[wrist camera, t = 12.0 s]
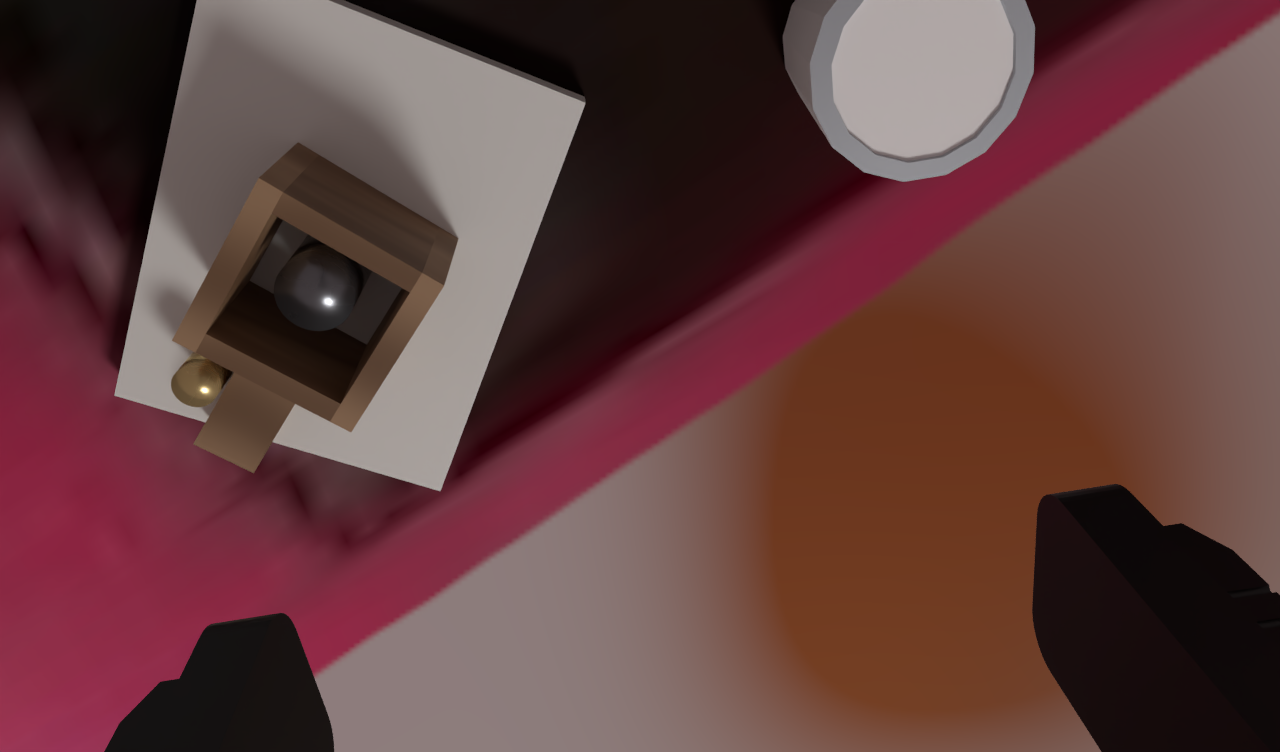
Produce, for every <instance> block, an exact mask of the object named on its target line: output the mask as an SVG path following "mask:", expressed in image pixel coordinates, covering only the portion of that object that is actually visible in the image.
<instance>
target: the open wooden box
mask: <svg viewBox="0 0 1280 752" xmlns="http://www.w3.org/2000/svg"><path fill="white" fill-rule="evenodd" d="M283 220H284V221H286V222H287V223H289V224H291V225H293V226H294V227H296V228H298V229H300V230H301V231H303V232H305V233H307V234H308V235H310V236H312V237H314V238H315V239H317V240H319V241H321V242H322V243H324V244H326V245H328V246H329V247H331V248H333V249H335V250H336V251H338V252H340V253H342V254H343V255H345V256H347V257H349V258H350V259H352V260H354V261H356V262H357V263H359V264H361V265H363V266H364V267H366V268H368V269H370V270H371V271H373V272H375V273H377V274H378V275H380V276H382V277H384V278H385V279H387V280H389V281H391V282H392V283H394V284H396V285H398V286H399V287H401V288H402V289H401V290H400V292H399V293H398V295H397V297H396V298H395V300H394V302H393V303H392V305H391V306H390V308H389V310H388V311H387V313H386V315H385V316H384V318H383V319H382V321H381V323H380V324H379V326H378V327H377V329H376V331H375V332H374V334H373V336H372V337H371V339H370V340H369V342H368V344H365V343H363V342H361V341H359V340H357V339H356V338H354V337H352V336H350V335H348V334H346V333H345V332H343V331H341V330H339V329H337V328H333V329H330V330H325V331H312V330H307V329H304V328H301V327H299V326H297V325H295V324H293V323H292V322H290V321H289V320H288V319H287V318H286V317H285V316H284V315H283V314H282V312H281V311H280V310H279V308H278V306H277V304H276V301H275V297H274V294H273V293H271V292H269V291H268V290H266V289H264V288H262V287H260V286H258V285H257V284H255V283H253V282H251V281H250V279H251V277H252V275H253V274H254V272H255V270H256V268H257V266H258V265H259V263H260V261H261V259H262V257H263V255H264V254H265V252H266V250H267V248H268V246H269V245H270V243H271V241H272V239H273V237H274V236H275V234H276V232H277V230H278V228H279V226H280V225H281V223H282V221H283ZM458 239H459V238H457V237H455V236H454V235H452V234H450V233H449V232H447V231H445V230H444V229H442V228H440V227H439V226H437V225H435V224H434V223H432V222H430V221H429V220H427V219H425V218H424V217H422V216H420V215H419V214H417V213H415V212H414V211H412V210H410V209H409V208H407V207H405V206H404V205H402V204H400V203H399V202H397V201H395V200H394V199H392V198H390V197H389V196H387V195H385V194H384V193H382V192H380V191H379V190H377V189H375V188H374V187H372V186H370V185H369V184H367V183H365V182H364V181H362V180H360V179H359V178H357V177H355V176H354V175H352V174H350V173H349V172H347V171H345V170H344V169H342V168H340V167H339V166H337V165H335V164H334V163H332V162H330V161H329V160H327V159H325V158H324V157H322V156H320V155H319V154H317V153H315V152H314V151H312V150H310V149H309V148H307V147H305V146H304V145H302V144H300V143H299V142H298V143H297V144H295V145H294V146H293V147H292V148H291V149H290V150H289V151H288V152H287V153H286V154H284V155H283V156H282V157H281V158H280V159H279V160H278V161H277V162H276V163H274V164H273V165H272V166H271V167H270V168H269V169H268V170H267V171H266V172H265V173H263V174H262V175H261V176H260V177H259V178H258V180H257V182H256V184H255V185H254V187H253V189H252V191H251V193H250V195H249V197H248V199H247V200H246V202H245V204H244V206H243V208H242V210H241V212H240V214H239V215H238V217H237V219H236V221H235V223H234V225H233V227H232V229H231V230H230V232H229V234H228V236H227V238H226V240H225V242H224V244H223V245H222V247H221V249H220V251H219V253H218V255H217V257H216V259H215V260H214V262H213V264H212V266H211V268H210V270H209V272H208V274H207V275H206V277H205V279H204V281H203V283H202V285H201V287H200V289H199V290H198V292H197V294H196V296H195V298H194V300H193V302H192V304H191V305H190V307H189V309H188V311H187V313H186V315H185V317H184V319H183V320H182V322H181V324H180V326H179V328H178V330H177V332H176V334H175V335H174V337H173V339H172V341H173V342H175V343H177V344H179V345H181V346H183V347H185V348H187V349H189V350H191V351H193V352H195V353H197V354H199V355H201V356H203V357H205V358H207V359H209V360H211V361H212V362H214V363H216V364H218V365H220V366H222V367H224V368H226V369H228V370H230V371H232V372H234V373H233V375H232V377H231V379H230V380H229V382H228V384H227V386H226V388H225V389H224V391H223V393H222V395H221V396H220V398H219V400H218V402H217V403H216V405H215V407H214V409H213V410H212V412H211V414H210V416H209V418H208V419H207V421H206V423H205V425H204V426H203V428H202V430H201V432H200V433H199V435H198V437H197V439H196V440H195V442H194V445H196V446H199V447H201V448H203V449H205V450H207V451H209V452H211V453H213V454H215V455H217V456H219V457H221V458H223V459H225V460H228V461H230V462H232V463H234V464H236V465H238V466H240V467H242V468H244V469H246V470H248V471H250V472H252V473H254V471H255V470H256V468H257V466H258V465H259V463H260V461H261V460H262V458H263V456H264V455H265V453H266V451H267V450H268V448H269V447H270V445H271V443H272V442H273V440H274V438H275V437H276V435H277V433H278V432H279V430H280V428H281V427H282V425H283V423H284V422H285V420H286V418H287V417H288V415H289V413H290V412H291V410H292V408H293V407H294V405H295V404H296V405H298V406H300V407H302V408H304V409H306V410H308V411H310V412H312V413H314V414H316V415H318V416H320V417H322V418H324V419H326V420H328V421H330V422H331V423H333V424H335V425H337V426H339V427H341V428H343V429H345V430H347V431H349V432H352V431H353V429H354V427H355V426H356V424H357V423H358V421H359V419H360V418H361V416H362V415H363V413H364V412H365V410H366V408H367V407H368V405H369V404H370V402H371V401H372V399H373V397H374V396H375V394H376V393H377V391H378V389H379V388H380V386H381V385H382V383H383V382H384V380H385V378H386V377H387V375H388V374H389V372H390V371H391V369H392V367H393V366H394V364H395V363H396V361H397V360H398V358H399V356H400V355H401V353H402V352H403V350H404V348H405V347H406V345H407V344H408V342H409V341H410V339H411V337H412V336H413V334H414V333H415V331H416V330H417V328H418V326H419V325H420V323H421V322H422V320H423V318H424V317H425V315H426V314H427V312H428V311H429V309H430V307H431V306H432V304H433V303H434V301H435V300H436V298H437V296H438V295H439V293H440V292H441V290H442V289H443V287H444V285H445V282H446V278H447V275H448V272H449V269H450V265H451V262H452V259H453V255H454V252H455V249H456V245H457V242H458Z"/></svg>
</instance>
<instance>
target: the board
mask: <svg viewBox="0 0 1280 752" xmlns="http://www.w3.org/2000/svg"><path fill="white" fill-rule="evenodd" d="M585 103H586V102H585V97H584V96H582V95H579V94H577V93H574V92H572V91H569V90H567V89H564V88H562V87H559V86H557V85H554V84H552V83H549V82H547V81H544V80H542V79H539V78H537V77H534V76H532V75H529V74H527V73H524V72H522V71H519V70H517V69H514V68H512V67H509V66H507V65H504V64H502V63H499V62H497V61H494V60H492V59H489V58H487V57H484V56H482V55H479V54H477V53H474V52H472V51H469V50H467V49H464V48H462V47H459V46H457V45H454V44H452V43H449V42H447V41H444V40H442V39H439V38H437V37H434V36H432V35H429V34H427V33H424V32H422V31H419V30H417V29H414V28H412V27H409V26H407V25H404V24H402V23H399V22H397V21H394V20H392V19H389V18H387V17H384V16H382V15H379V14H377V13H374V12H372V11H369V10H367V9H364V8H362V7H359V6H357V5H354V4H352V3H349V2H347V1H344V0H197V2H196V6H195V11H194V16H193V21H192V26H191V30H190V35H189V40H188V45H187V50H186V54H185V59H184V64H183V69H182V74H181V78H180V83H179V88H178V93H177V98H176V102H175V107H174V112H173V117H172V122H171V126H170V131H169V136H168V141H167V146H166V150H165V155H164V160H163V165H162V170H161V174H160V179H159V184H158V189H157V194H156V198H155V203H154V208H153V213H152V218H151V222H150V227H149V232H148V237H147V242H146V246H145V251H144V256H143V261H142V266H141V270H140V275H139V280H138V285H137V290H136V294H135V299H134V304H133V309H132V314H131V318H130V323H129V328H128V333H127V338H126V342H125V347H124V352H123V357H122V361H121V366H120V371H119V376H118V381H117V385H116V390H115V395H114V396H118V397H121V398H124V399H128V400H131V401H135V402H138V403H141V404H145V405H148V406H152V407H155V408H159V409H162V410H165V411H169V412H172V413H176V414H179V415H182V416H186V417H189V418H193V419H196V420H199V421H203V422H206V421H207V419H208V418H209V416H210V414H211V412H212V410H213V409H214V407H215V405H216V403H217V402H218V400H219V398H220V396H221V395H222V393H223V391H224V389H225V388H226V386H227V384H228V382H229V380H230V379H231V377H232V375H233V374H232V375H231V377H230V378H229V379H228V381H227V382H226V384H225V385H224V387H223V388H222V389H221V391H220V392H219V394H218V395H217V397H216V398H215V399H214V401H213V402H212V403H210V404H209V405H207V406H204V407H191V406H188V405H186V404H184V403H182V402H181V401H179V400H178V399H177V398H176V397H175V395H174V394H173V392H172V389H171V380H172V377H173V376H174V374H175V373H176V372H177V371H178V369H179V368H180V367H181V366H182V365H183V363H184V362H185V361H186V360H187V358H188V357H189V356H190V355H191V354H192V352H193V351H191V350H189V349H187V348H185V347H183V346H181V345H179V344H177V343H175V342H173V341H172V339H173V337H174V335H175V334H176V332H177V330H178V328H179V326H180V324H181V322H182V320H183V319H184V317H185V315H186V313H187V311H188V309H189V307H190V305H191V304H192V302H193V300H194V298H195V296H196V294H197V292H198V290H199V289H200V287H201V285H202V283H203V281H204V279H205V277H206V275H207V274H208V272H209V270H210V268H211V266H212V264H213V262H214V260H215V259H216V257H217V255H218V253H219V251H220V249H221V247H222V245H223V244H224V242H225V240H226V238H227V236H228V234H229V232H230V230H231V229H232V227H233V225H234V223H235V221H236V219H237V217H238V215H239V214H240V212H241V210H242V208H243V206H244V204H245V202H246V200H247V199H248V197H249V195H250V193H251V191H252V189H253V187H254V185H255V184H256V182H257V180H258V178H259V177H260V176H261V175H262V174H263V173H265V172H266V171H267V170H268V169H269V168H270V167H271V166H272V165H273V164H274V163H276V162H277V161H278V160H279V159H280V158H281V157H282V156H283V155H284V154H286V153H287V152H288V151H289V150H290V149H291V148H292V147H293V146H294V145H295V144H297V143H298V142H299V143H300V144H302V145H304V146H305V147H307V148H309V149H310V150H312V151H314V152H315V153H317V154H319V155H320V156H322V157H324V158H325V159H327V160H329V161H330V162H332V163H334V164H335V165H337V166H339V167H340V168H342V169H344V170H345V171H347V172H349V173H350V174H352V175H354V176H355V177H357V178H359V179H360V180H362V181H364V182H365V183H367V184H369V185H370V186H372V187H374V188H375V189H377V190H379V191H380V192H382V193H384V194H385V195H387V196H389V197H390V198H392V199H394V200H395V201H397V202H399V203H400V204H402V205H404V206H405V207H407V208H409V209H410V210H412V211H414V212H415V213H417V214H419V215H420V216H422V217H424V218H425V219H427V220H429V221H430V222H432V223H434V224H435V225H437V226H439V227H440V228H442V229H444V230H445V231H447V232H449V233H450V234H452V235H454V236H455V237H457V238H459V239H458V242H457V245H456V249H455V252H454V255H453V259H452V262H451V265H450V269H449V272H448V275H447V278H446V282H445V285H444V287H443V289H442V290H441V292H440V293H439V295H438V296H437V298H436V300H435V301H434V303H433V304H432V306H431V307H430V309H429V311H428V312H427V314H426V315H425V317H424V318H423V320H422V322H421V323H420V325H419V326H418V328H417V330H416V331H415V333H414V334H413V336H412V337H411V339H410V341H409V342H408V344H407V345H406V347H405V348H404V350H403V352H402V353H401V355H400V356H399V358H398V360H397V361H396V363H395V364H394V366H393V367H392V369H391V371H390V372H389V374H388V375H387V377H386V378H385V380H384V382H383V383H382V385H381V386H380V388H379V389H378V391H377V393H376V394H375V396H374V397H373V399H372V401H371V402H370V404H369V405H368V407H367V408H366V410H365V412H364V413H363V415H362V416H361V418H360V419H359V421H358V423H357V424H356V426H355V427H354V429H353V431H352V432H349V431H347V430H345V429H343V428H341V427H339V426H337V425H335V424H333V423H331V422H330V421H328V420H326V419H324V418H322V417H320V416H318V415H316V414H314V413H312V412H310V411H308V410H306V409H304V408H302V407H300V406H298V405H296V404H295V405H294V407H293V408H292V410H291V412H290V413H289V415H288V417H287V418H286V420H285V422H284V423H283V425H282V427H281V428H280V430H279V432H278V433H277V435H276V437H275V438H274V440H273V442H274V443H278V444H281V445H285V446H288V447H291V448H295V449H298V450H302V451H305V452H308V453H312V454H315V455H319V456H322V457H326V458H329V459H332V460H336V461H339V462H343V463H346V464H349V465H353V466H356V467H360V468H363V469H366V470H370V471H373V472H377V473H380V474H383V475H387V476H390V477H394V478H397V479H400V480H404V481H407V482H411V483H414V484H418V485H421V486H424V487H428V488H431V489H435V490H438V491H441V488H442V485H443V483H444V480H445V477H446V475H447V472H448V469H449V467H450V464H451V461H452V459H453V456H454V453H455V451H456V448H457V445H458V443H459V440H460V437H461V435H462V432H463V429H464V427H465V424H466V421H467V419H468V416H469V413H470V411H471V408H472V405H473V403H474V400H475V397H476V394H477V392H478V389H479V386H480V384H481V381H482V378H483V376H484V373H485V370H486V368H487V365H488V362H489V360H490V357H491V354H492V352H493V349H494V346H495V344H496V341H497V338H498V336H499V333H500V330H501V328H502V325H503V322H504V320H505V317H506V314H507V312H508V309H509V306H510V304H511V301H512V298H513V296H514V293H515V290H516V287H517V285H518V282H519V279H520V277H521V274H522V271H523V269H524V266H525V263H526V261H527V258H528V255H529V253H530V250H531V247H532V245H533V242H534V239H535V237H536V234H537V231H538V229H539V226H540V223H541V221H542V218H543V215H544V213H545V210H546V207H547V205H548V202H549V199H550V197H551V194H552V191H553V189H554V186H555V183H556V181H557V178H558V175H559V172H560V170H561V167H562V164H563V162H564V159H565V156H566V154H567V151H568V148H569V146H570V143H571V140H572V138H573V135H574V132H575V130H576V127H577V124H578V122H579V119H580V116H581V114H582V111H583V108H584V106H585ZM307 235H308V234H307V233H305V232H303V231H301V230H300V229H298V228H296V227H294V226H293V225H291V224H289V223H287V222H286V221H284V220H283V221H282V223H281V225H280V226H279V228H278V230H277V232H276V234H275V236H274V237H273V239H272V241H271V243H270V245H269V246H268V248H267V250H266V252H265V254H264V255H263V257H262V259H261V261H260V263H259V265H258V266H257V268H256V270H255V272H254V274H253V275H252V277H251V279H250V281H251V282H253V283H255V284H257V285H258V286H260V287H262V288H264V289H266V290H268V291H269V292H271V293H273V294H274V284H275V280H276V277H277V275H278V274H279V272H280V271H281V270H282V268H283V267H284V266H285V264H286V263H287V262H288V260H289V259H290V258H291V256H292V255H293V254H294V253H295V251H296V250H297V249H298V247H299V246H300V245H301V243H302V242H303V241H304V239H305V238H306V237H307ZM401 289H402V288H401V287H399V286H398V285H396V284H394V283H392V282H391V281H389V280H387V279H385V278H384V277H382V276H380V275H378V274H377V273H375V272H373V271H372V273H371V275H370V277H369V278H368V280H367V282H366V284H365V286H364V288H363V290H362V292H361V294H360V296H359V298H358V300H357V302H356V304H355V306H354V308H353V310H352V312H351V313H350V315H349V317H348V318H347V319H346V320H345V321H344V322H343V323H342V324H340V325H339V326H337V327H335V328H337V329H339V330H341V331H343V332H345V333H346V334H348V335H350V336H352V337H354V338H356V339H357V340H359V341H361V342H363V343H365V344H368V342H369V340H370V339H371V337H372V336H373V334H374V332H375V331H376V329H377V327H378V326H379V324H380V323H381V321H382V319H383V318H384V316H385V315H386V313H387V311H388V310H389V308H390V306H391V305H392V303H393V302H394V300H395V298H396V297H397V295H398V293H399V292H400V290H401ZM233 373H234V372H233Z"/></svg>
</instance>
